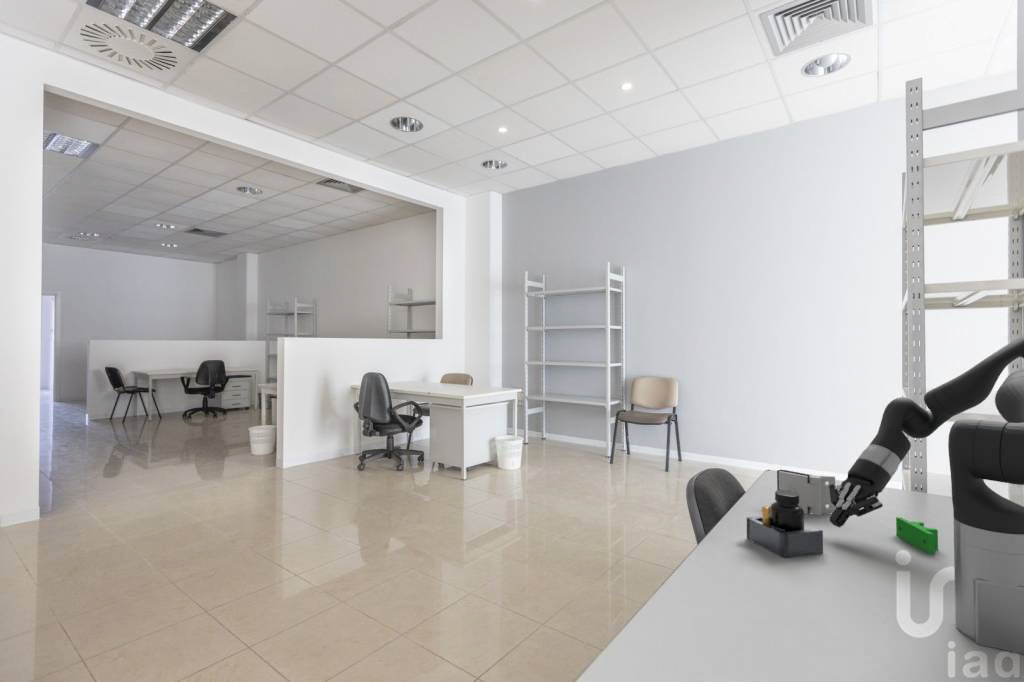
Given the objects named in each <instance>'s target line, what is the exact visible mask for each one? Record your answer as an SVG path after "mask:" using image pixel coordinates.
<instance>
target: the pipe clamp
mask: <svg viewBox="0 0 1024 682" xmlns="http://www.w3.org/2000/svg"><path fill="white" fill-rule="evenodd" d="M895 523H896V530H895V531H896V532H895V533H896V536H897V537H898V538H900V539H902V540H903V541H905V542H907V543H909V544H911V545H913V546H915V548H917V549H920V550H921V551H923V552H924V553H926V554H928V555H935V554H936V553H935V552H936V550H939V534H938V533H939V532H938V531H939V530H938V529H936V528H932V527H926V526H925V523H924V522H922V521H909V520H907V519H905V518H904V517H903V518H902V517H899V516H898V517H895Z"/></svg>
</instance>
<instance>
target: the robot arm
mask: <svg viewBox="0 0 1024 682" xmlns="http://www.w3.org/2000/svg"><path fill="white" fill-rule="evenodd" d="M1019 358H1022V359H1023V360H1024V333H1023V334H1022V335H1019V337H1017V338H1015V339H1013V340H1012V341H1010V342H1009V343H1007V344H1006V345H1004V346H1003V347H1000V349H998V350H997V351H995V352H993V353H992V354H991V355H989V356H987V357H986V358H984V359H983V360H982V361H980V362H978V363H977V364H975V365H974V366H973V367H971V368H970V369H968V370H966V371H965V372H962V374H960V375H958V376H956V377H954V378H952V379H950V380H949V381H946V382H944V383H942V384H940V385H938V386H936V387H935V388H932V389H930V390H928V391H927V392H926V393H925V394H924V396H923V401H924V404H925V406H926V407H927V409H928V410H929V412H928V411H927V410H926V409H925V408H923V407H922V406H921V405H919V404H918V403H917V402H916V401H914V400H912V399H911V398H909V397H906V396H905V397H904V396H901V397H900V396H899V397H896V398H894V399H892V400H891V401H890V402H889V403H888V404H887V405H886V407H885V408H884V411H883V414H882V417H881V420H880V425H879V427H878V431H877V433H876V435H875V437H874V438H873V439H872V441H871V442H870V443H869V444H868V446H867V447H865V449H863V450H862V452H861V453H860V455H859V456H858V457H857V459H856V460H855V462H854V463H853V464H852V466H851V467H850V469H849V470H848V471H847V477H846V479H845V480H842V482H841V484H838V485H835V486H834V485H833V484H831V485H830V486H829V490H830V499H831V503H832V504H833V505H834V506H835V507H836V509H835V510H834V512H833V513H832V514H831V515H829V522H830V523H831V525H833V526H834V527H837V528H842V527H843V526H844V525H845V524H846V523H847V521H848V519H849V518H850V517H852V516H856V517H862V516H864V515H867V514H869V513H871V512H873V511H876V510H878V509H880V508H883V505H884V504H883V503H882V502H881V501H880V500H879V499H878V496H879V494H880V493H882V492H883V490H884V489H885V488H886V486H887V485H888V483H889V482H890V481H891V479H892V478H893V477H894V475H895V474H896V472H897V471H898V468H899V466H900V464H901V463H902V461H903V460H904V459H905V457H906V455H908V453H909V451H910V449H911V447H912V444H911V441H910V440H909V438H908V436H909V437H910V438H913V439H926V438H928V437H930V436H931V435H932V434H933V433H934V432H935V431H937V430H938V429H939V428H940V427H941V426H942V425H944V423H946V422H948V421H949V420H950V419H951V418H953V417H954V416H957V415H960V414H961V413H964V412H966V411H968V410H970V409H972V408H975V407H977V406H979V405H981V403H983V402H984V401H985V400H986V399H988V397H989V396H990V394H991V393H992V391H993V389H994V386H995V385H996V383H997V381H998V379H999V378H1000V376H1001V374H1002V373H1003V371H1004V370H1005V369H1006V367H1008V366H1009V365H1010V364H1011V363H1012V362H1013V361H1015V360H1016V359H1019ZM994 403H995V407H996V409H997V411H998V413H999V414H1000V416H1001V417H1002V418H1003V420H1004V421H997V420H995V421H994V420H986V419H985V420H983V419H975V418H961V419H958V420H956V421H955V422H953V424H952V425H951V427H950V429H949V433H948V443H947V446H948V447H947V448H948V459H949V460H948V461H949V468H950V469H949V471H950V480H951V481H950V482H951V502H952V508H953V557H954V560H953V562H954V563H953V564H954V565H953V568H954V570H953V571H954V602H955V603H954V606H955V607H954V608H955V609H954V610H955V612H954V613H955V626H956V625H957V626H956V628H957V627H958V628H959V629H958V628H957V629H958V630H959V631H960V632H961V631H962V632H961V633H962V634H964V635H966V636H967V637H969V638H971V639H972V640H974V641H975V643H977V644H979V645H982V646H987V647H991V648H996V649H1000V650H1006V651H1009V652H1014V653H1019V654H1023V655H1024V506H1023V505H1021V504H1018V503H1016V502H1014V501H1012V500H1010V499H1007V498H1005V497H1004V496H1002V495H1000V494H998V493H997V492H995V491H994V490H993V489H991V488H990V487H989V486H988V485H987V484H986V483H985V481H986V480H987V481H993V482H999V483H1004V484H1011V485H1018V486H1019V485H1020V486H1024V367H1022V368H1019V369H1016V370H1015V371H1013V372H1012V373H1010V374H1009V375H1008V376H1007V377H1006V378H1005V380H1004V381H1003V382H1002V384H1001V385H1000V386H999V388H998V389H997V391H996V393H995V396H994ZM904 433H905V434H904ZM906 435H907V436H906ZM984 480H985V481H984Z"/></svg>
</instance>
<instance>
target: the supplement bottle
mask: <svg viewBox="0 0 1024 682" xmlns="http://www.w3.org/2000/svg"><path fill="white" fill-rule="evenodd" d="M798 504H799V494H798V493H795V492H792V491H785V490H778V491H777V490H776V491H774V502H772V504H770V506H769V507H770V526H772V527H774V528H776V529H778V530H780V531H783V532H790V531H799V530H805V513H804V510H803V508H802V507H801V506H799V505H798Z"/></svg>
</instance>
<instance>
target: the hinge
mask: <svg viewBox="0 0 1024 682" xmlns="http://www.w3.org/2000/svg"><path fill="white" fill-rule="evenodd" d="M776 479H777V482H776V483H777V485H776V486H777V490H776V491H778V490H785V491H792V492H795V493H798V494H799V504H798V505H799V506H801V507H802V508H803V510H804V512H806V513H805V514H810V513H812V514H811V515H813V514H816V515H815V516H822V515H821V514H827V513H833V512H834V510H835V509H836V507H835V506H834V505H833V504H832V503H831V499H830V490H829V486H830V485H831V484H833V485H834V486H836V476H833V475H832V476H831V475H815V474H809V473H805V472H799V471H794V470H788V469H779V470H777V471H776ZM827 482H828V484H826V483H827ZM827 505H828V507H826V506H827ZM809 510H810V511H809Z"/></svg>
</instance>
